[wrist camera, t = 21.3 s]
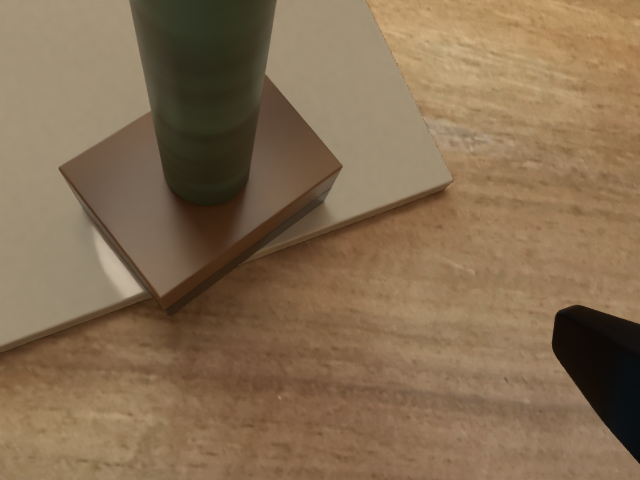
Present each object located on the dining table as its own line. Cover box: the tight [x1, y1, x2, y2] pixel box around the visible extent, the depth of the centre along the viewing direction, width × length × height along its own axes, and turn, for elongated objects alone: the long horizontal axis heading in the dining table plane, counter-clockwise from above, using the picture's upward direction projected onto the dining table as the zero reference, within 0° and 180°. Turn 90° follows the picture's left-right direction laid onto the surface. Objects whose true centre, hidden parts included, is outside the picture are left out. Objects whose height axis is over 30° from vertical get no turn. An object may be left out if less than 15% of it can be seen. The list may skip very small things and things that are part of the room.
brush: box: [58, 0, 343, 317], centre depth 15 cm, size 5×7×13 cm
